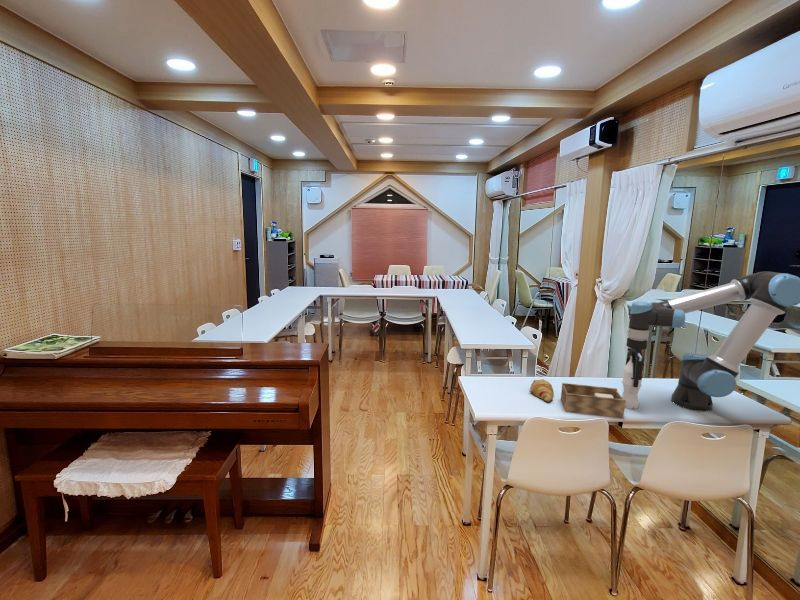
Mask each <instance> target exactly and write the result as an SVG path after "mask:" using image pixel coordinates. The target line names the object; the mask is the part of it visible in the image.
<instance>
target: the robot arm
mask: <svg viewBox="0 0 800 600" xmlns="http://www.w3.org/2000/svg"><path fill="white" fill-rule="evenodd" d="M748 300H749V301H750V305H749V306H748V308H747V309H746V311H745V312H744V313H743V314H742V316H741V318H739V320H738V321H737V323H736V324H735V326H734V327H733V329H731V331H730V333H729V334H728V335H727V337H726V338H725V339H724V341H722V344H721V345H720V346H719V348H718V349H717V350H716V352H715V353H714V354H712V355H707V354H702V353H701V354H700V353H692V352H689V353H683V354H682V358H681V359H680V366H679V367H680V369H679V375H678V382H677V385H676V387H675V389H674V391H673V392H672V394H671V397H670V401H671V402H672V403H673V402H674V403H675V404H674V403H673V404H674V405H676V404H677V405H676V406H678V405H679V406H678V407H681V408H683V407H684V409H687V410H690V411H697V412H710V411H712V410H713V407H714V405H713V404H714V403H713V400H712V397H713V398H724V397H727V396H729V395H731V394H732V393H733V392H734V391H735V390H736V387H737V383H736V381H737V380H736V378H737V376H738V375H739V374H740V371H739V366H740V364H741V363H742V362H743V361H744V359H745V358H746V357H747V355H748V354H749V353H750V351H752V349H753V348H754V346H755V345H756V344H757V342H758V341H759V339H760V338H761V337H762V335H763V334H764V333H765V332H766V331H767V329H768V327H770V325H771V323H772V322H773V321H774V319H776V318H777V316H779V315H784V314H786V312H787V311H788V310H789V309H790V307H793V306H794V307H795V306H797V305H799V304H800V277H799V276H797V275H793V274H790V273H785V272H784V273H783V272H782V273H781V272H775V271H765V270H764V271H759V272H758V271H757V272H756V273H752V274H751V273H750V274H748V275H745V276H740V277H738V278H737V277H736V278H734V279H731V281H730V282H729V283H728V282H727V283H725V284H722V285H718V286H714V287H711V288H708V289H703V290H701V291H697V292H692V293H689V294H686V295H682V296H678V297H674V298H672V299H667V300H665V301H663V300H662V301H660V302H655V301H651V302H647V301H646V302H645V301H633V302H632V303H631V306H630V311H629V321H628V322H629V323H628V329H626V332H627V339H626V344H625V345H626V347H627V351H626V353H627V354H626V359H625V365H624V367H625V366H626V364H627V363H628V362H629V361H630V359H631V357H632V363H633V378H631V379H632V380H631V388H630V394H639V391H638V387H639V380H642V379H643V374H642V371H643V372H644V370H643V369H644V360H645V356H643V353H642V351H643V350H647V348H648V343H649V342H648V339H649V335H650V326H651V327H661V328H672V329H673V328H676V329H677V328H683V326H684V325H685V323H686V314H689V313H693V312H697V311H699V310H700V311H701V310H704V309H708V308H712V307H716V306H719V305H725V304H727V303H730V302H731V303H732V302H735V301H739V302H744V301H748ZM630 356H631V357H630Z"/></svg>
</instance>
